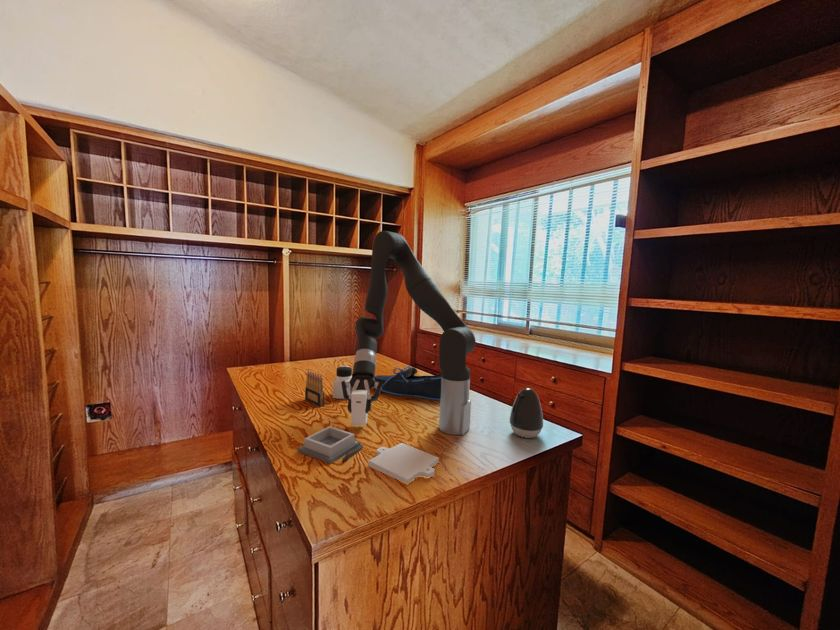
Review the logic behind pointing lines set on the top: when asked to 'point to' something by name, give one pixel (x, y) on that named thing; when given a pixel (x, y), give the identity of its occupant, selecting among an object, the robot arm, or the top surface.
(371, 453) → the top surface
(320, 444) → the grey square tray
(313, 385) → the pencil set
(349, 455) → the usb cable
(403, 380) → the moccasin
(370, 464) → the mounting plate
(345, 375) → the medicine bottle
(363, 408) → the charger
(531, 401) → the dark grey egg shape
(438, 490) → the top surface
